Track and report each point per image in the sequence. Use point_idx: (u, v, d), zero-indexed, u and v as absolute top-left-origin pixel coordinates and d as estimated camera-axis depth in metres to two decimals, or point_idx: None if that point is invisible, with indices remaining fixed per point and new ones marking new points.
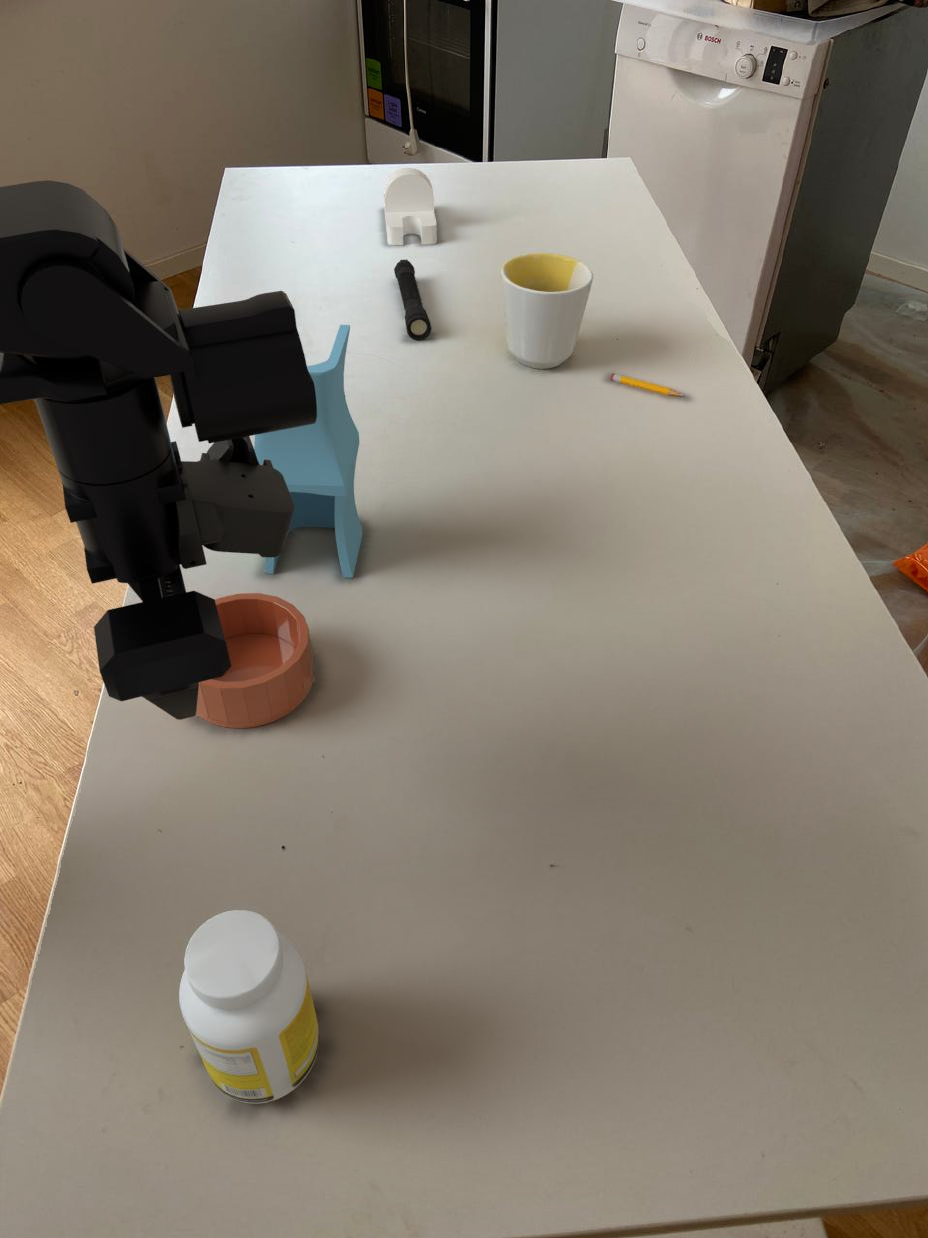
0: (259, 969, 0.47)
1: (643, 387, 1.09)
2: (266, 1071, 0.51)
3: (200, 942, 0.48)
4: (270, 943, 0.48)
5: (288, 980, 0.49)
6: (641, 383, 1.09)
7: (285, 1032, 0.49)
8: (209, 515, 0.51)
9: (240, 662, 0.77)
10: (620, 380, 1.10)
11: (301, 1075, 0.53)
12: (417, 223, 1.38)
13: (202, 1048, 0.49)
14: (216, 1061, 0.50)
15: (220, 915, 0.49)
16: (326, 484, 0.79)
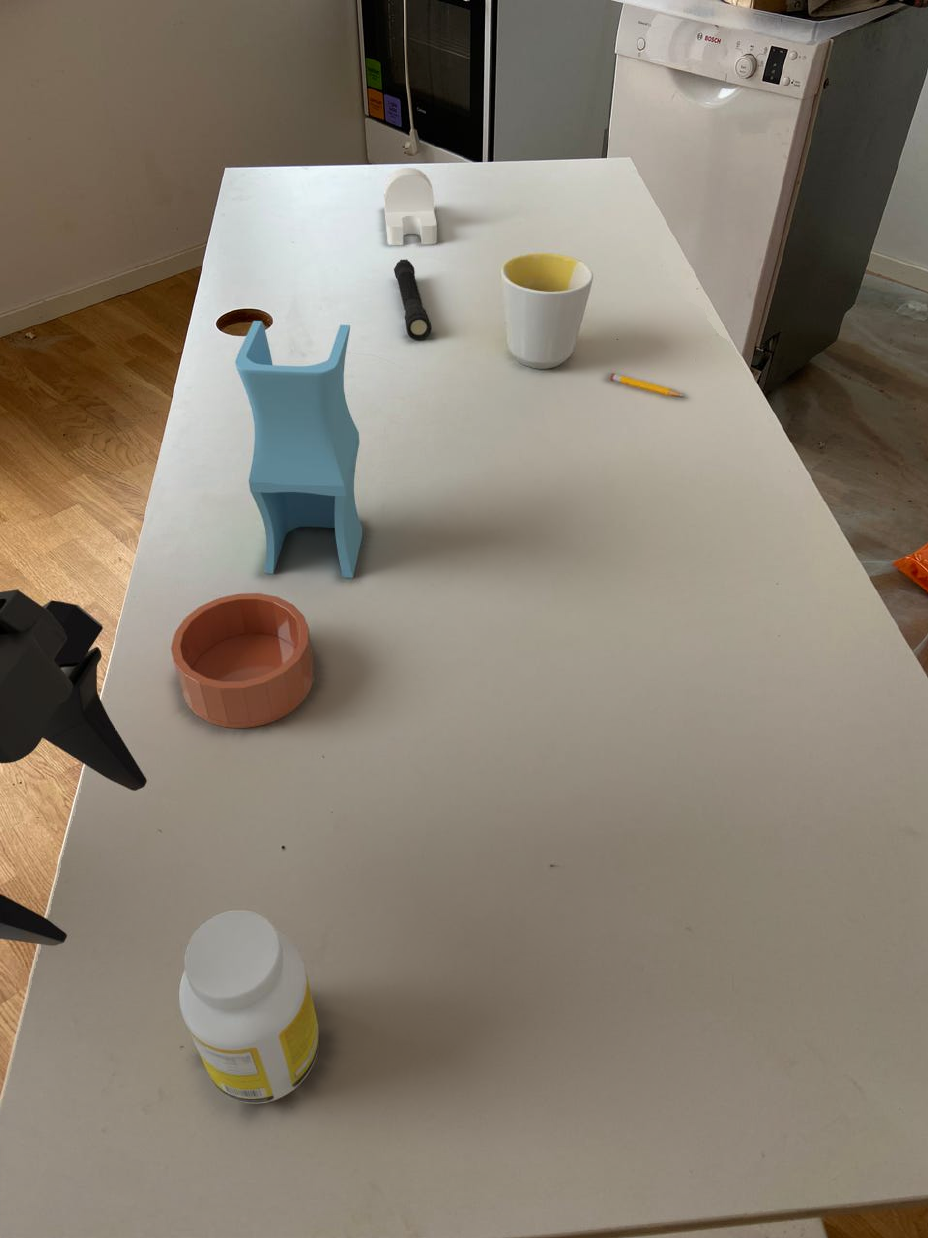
0: (259, 969, 0.47)
1: (643, 387, 1.09)
2: (266, 1071, 0.51)
3: (200, 942, 0.48)
4: (270, 943, 0.48)
5: (288, 980, 0.49)
6: (641, 383, 1.09)
7: (285, 1032, 0.49)
8: None
9: (240, 662, 0.77)
10: (620, 380, 1.10)
11: (301, 1075, 0.53)
12: (417, 223, 1.38)
13: (202, 1048, 0.49)
14: (216, 1061, 0.50)
15: (220, 915, 0.49)
16: (326, 484, 0.79)
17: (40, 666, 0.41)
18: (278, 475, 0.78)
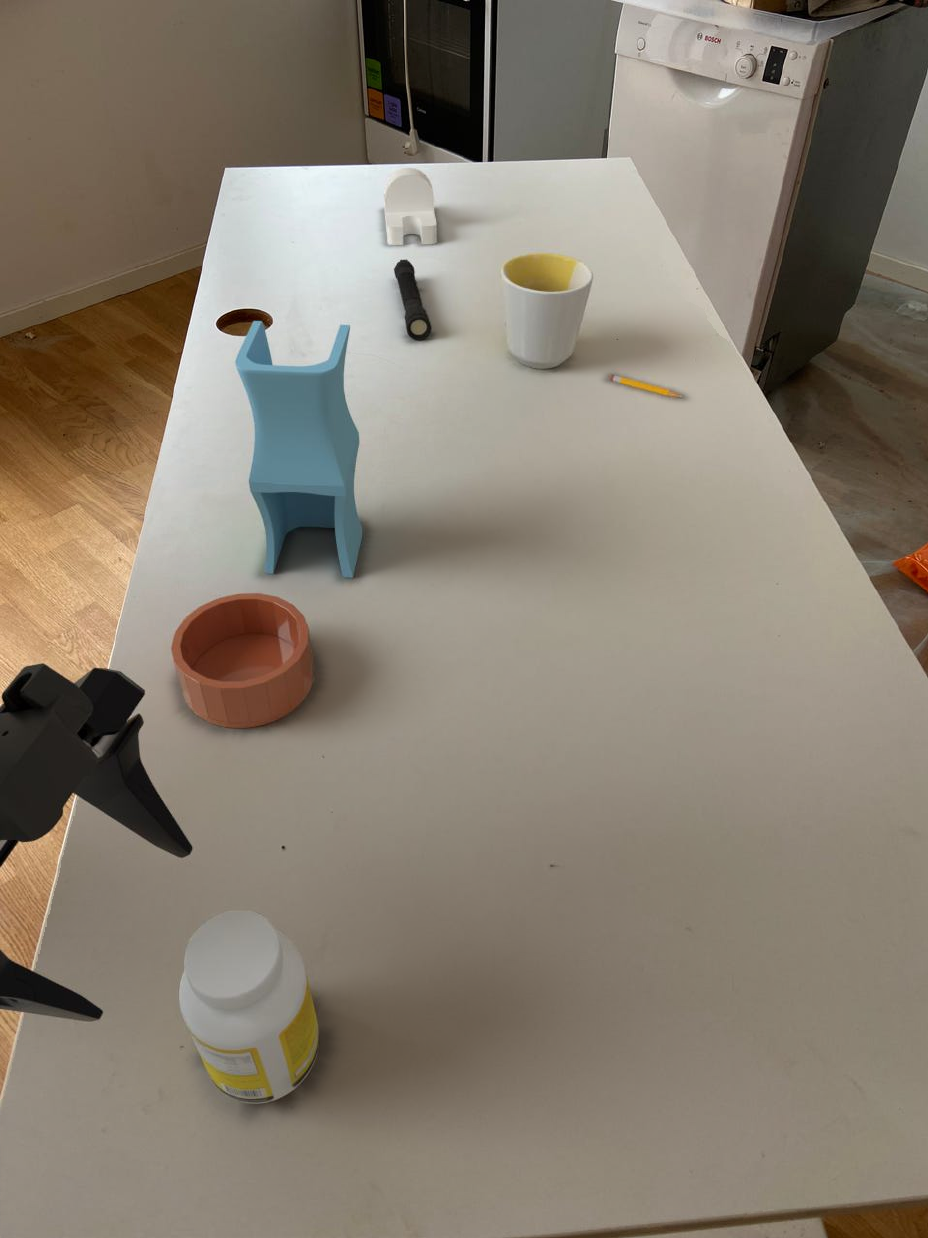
0: (259, 969, 0.47)
1: (644, 389, 1.09)
2: (266, 1071, 0.51)
3: (200, 942, 0.48)
4: (270, 944, 0.48)
5: (288, 980, 0.49)
6: (641, 385, 1.09)
7: (285, 1032, 0.49)
8: None
9: (240, 662, 0.77)
10: (620, 381, 1.10)
11: (301, 1075, 0.53)
12: (417, 223, 1.38)
13: (202, 1048, 0.49)
14: (216, 1061, 0.50)
15: (220, 915, 0.49)
16: (326, 484, 0.79)
17: (60, 742, 0.41)
18: (278, 475, 0.78)
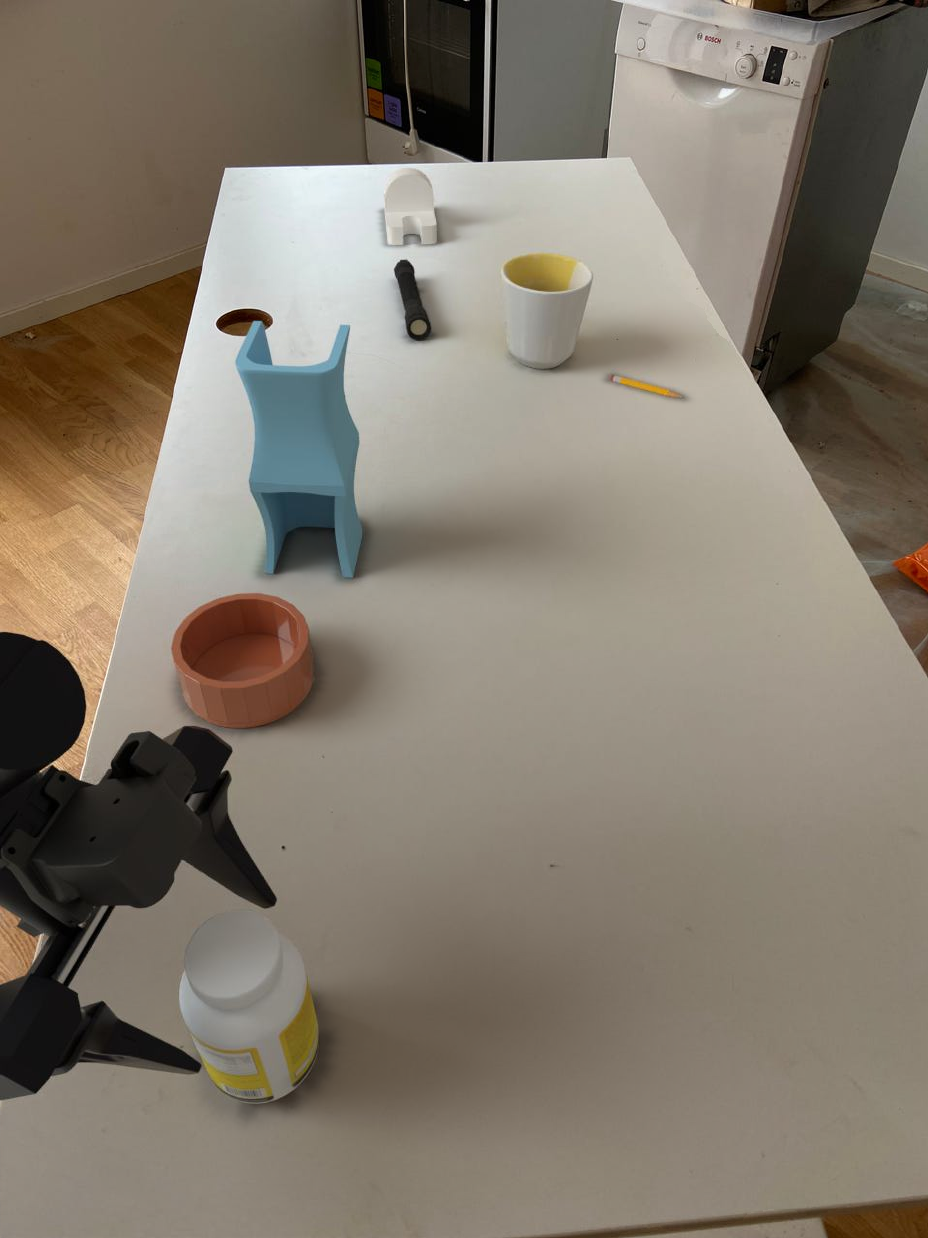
0: (259, 969, 0.47)
1: (643, 389, 1.09)
2: (266, 1071, 0.51)
3: (200, 942, 0.48)
4: (270, 944, 0.48)
5: (288, 980, 0.49)
6: (641, 385, 1.09)
7: (285, 1032, 0.49)
8: (46, 874, 0.42)
9: (240, 662, 0.77)
10: (620, 382, 1.10)
11: (301, 1075, 0.53)
12: (417, 223, 1.38)
13: (202, 1048, 0.49)
14: (216, 1061, 0.50)
15: (220, 915, 0.49)
16: (326, 484, 0.79)
17: (171, 810, 0.42)
18: (278, 475, 0.78)
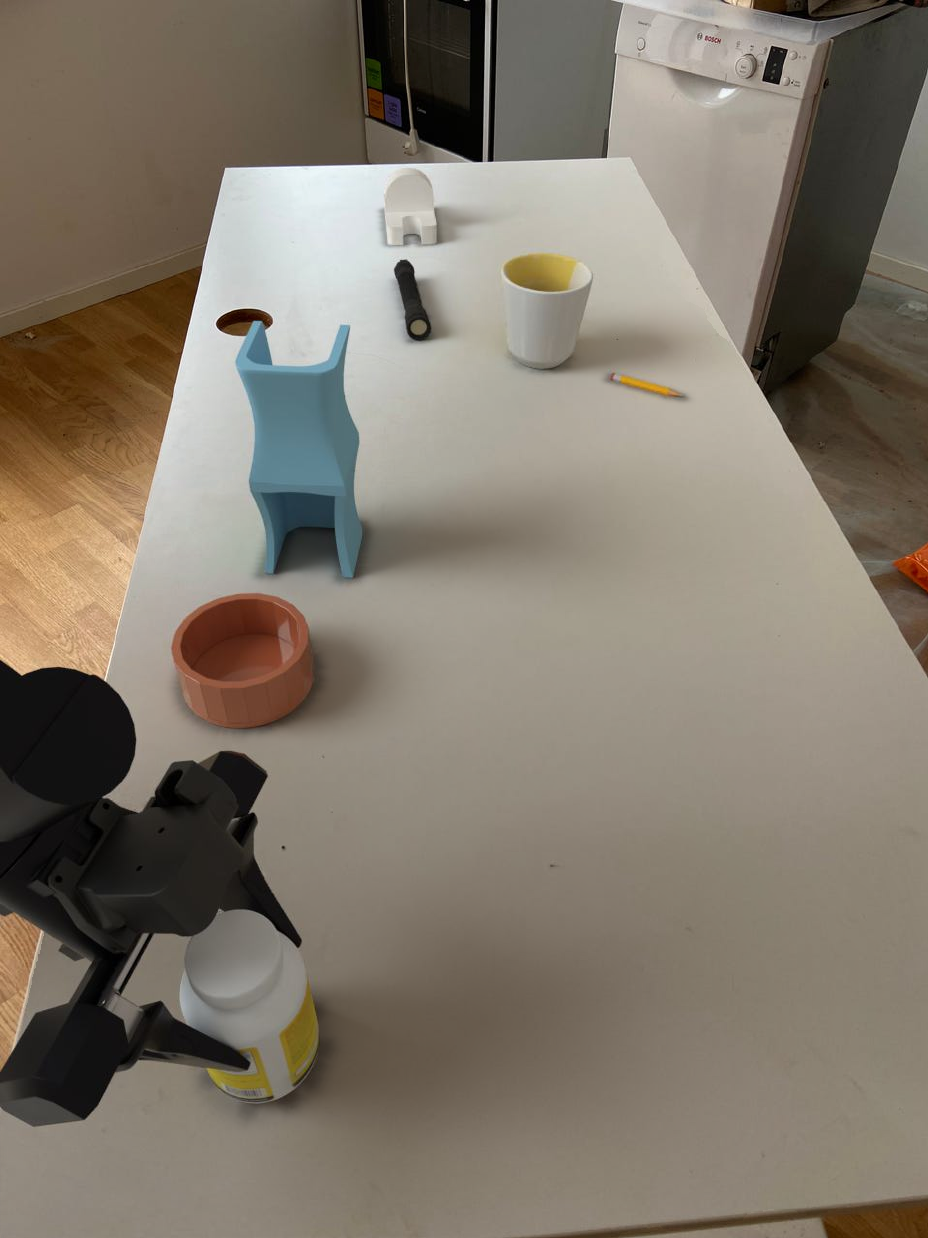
0: (259, 969, 0.47)
1: (643, 387, 1.09)
2: (267, 1071, 0.51)
3: (200, 942, 0.48)
4: (270, 943, 0.48)
5: (288, 980, 0.49)
6: (641, 383, 1.09)
7: (285, 1031, 0.49)
8: (93, 902, 0.42)
9: (240, 662, 0.77)
10: (620, 380, 1.10)
11: (301, 1075, 0.53)
12: (417, 223, 1.38)
13: None
14: None
15: (220, 915, 0.49)
16: (326, 484, 0.79)
17: (215, 840, 0.43)
18: (278, 475, 0.78)
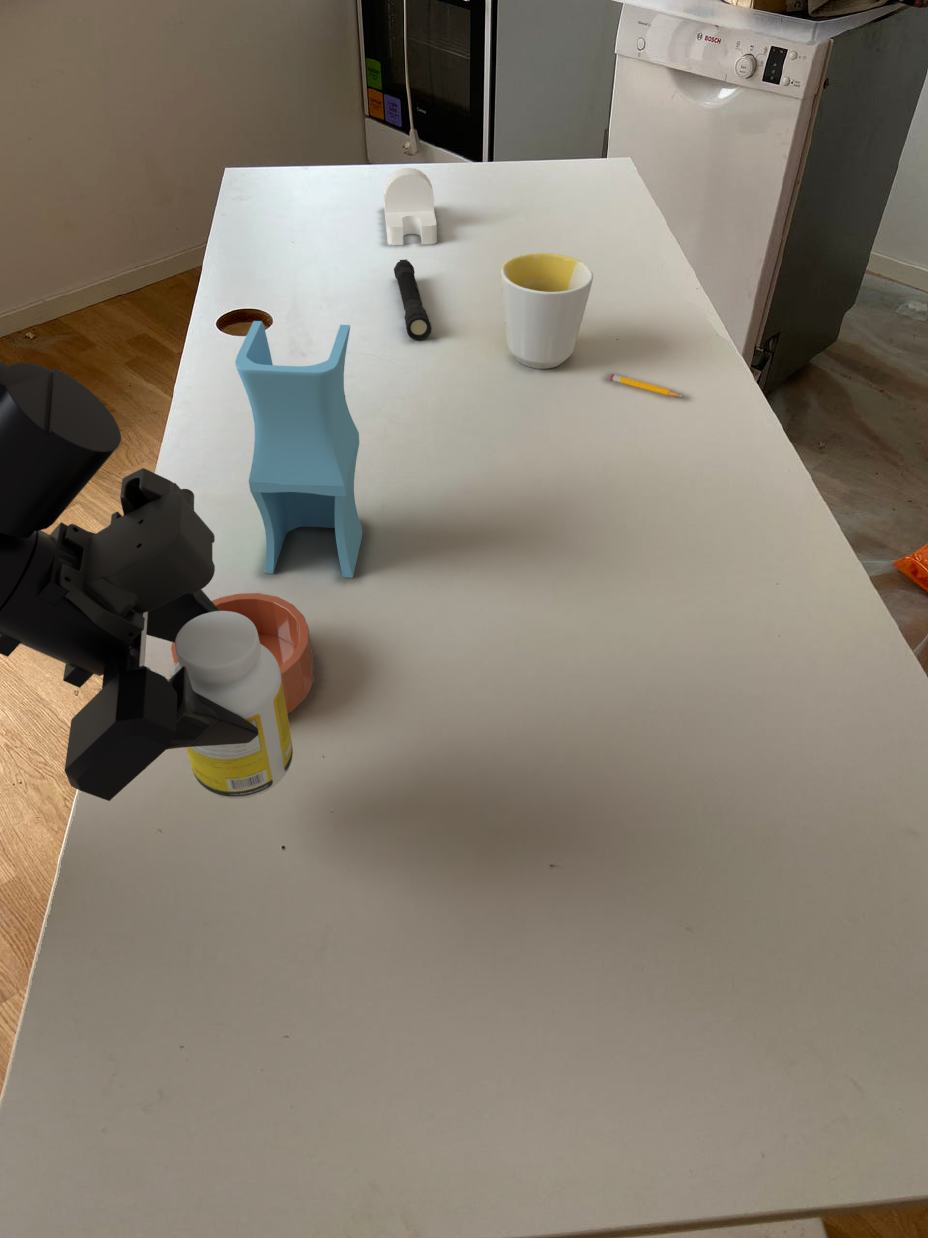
0: (246, 640, 0.55)
1: (643, 388, 1.09)
2: (267, 747, 0.59)
3: (185, 641, 0.55)
4: (244, 624, 0.56)
5: (265, 657, 0.58)
6: (641, 384, 1.09)
7: (276, 699, 0.58)
8: (105, 589, 0.49)
9: None
10: (620, 381, 1.10)
11: (288, 759, 0.62)
12: (417, 223, 1.38)
13: None
14: (225, 746, 0.57)
15: (191, 621, 0.56)
16: (326, 484, 0.79)
17: (192, 513, 0.51)
18: (278, 475, 0.78)
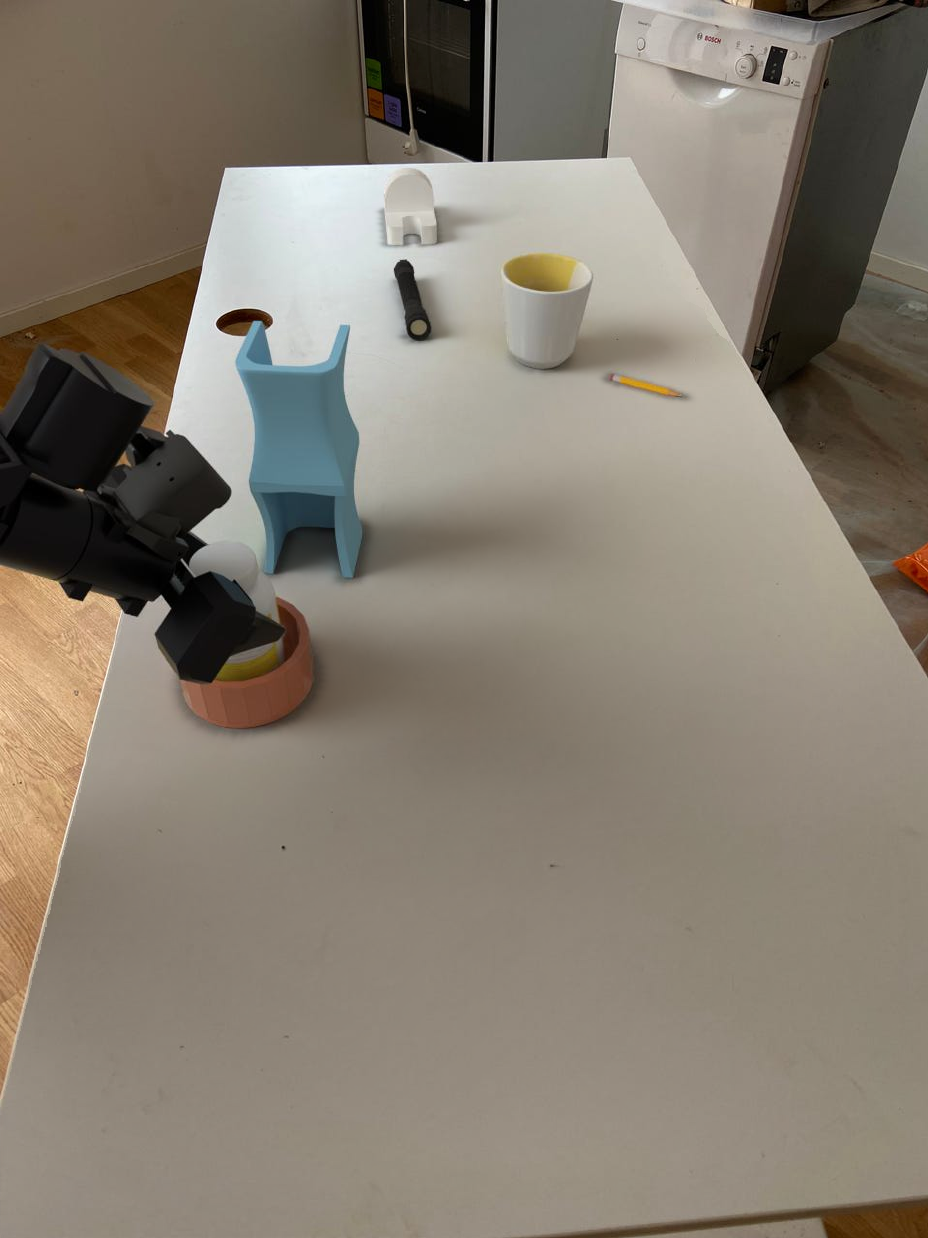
0: (247, 556, 0.68)
1: (643, 388, 1.09)
2: (276, 643, 0.72)
3: (199, 570, 0.67)
4: (237, 546, 0.69)
5: None
6: (640, 384, 1.09)
7: (276, 600, 0.71)
8: (156, 519, 0.60)
9: None
10: (619, 381, 1.10)
11: (285, 655, 0.76)
12: (417, 223, 1.38)
13: None
14: None
15: (193, 556, 0.68)
16: (326, 484, 0.79)
17: None
18: (278, 475, 0.78)
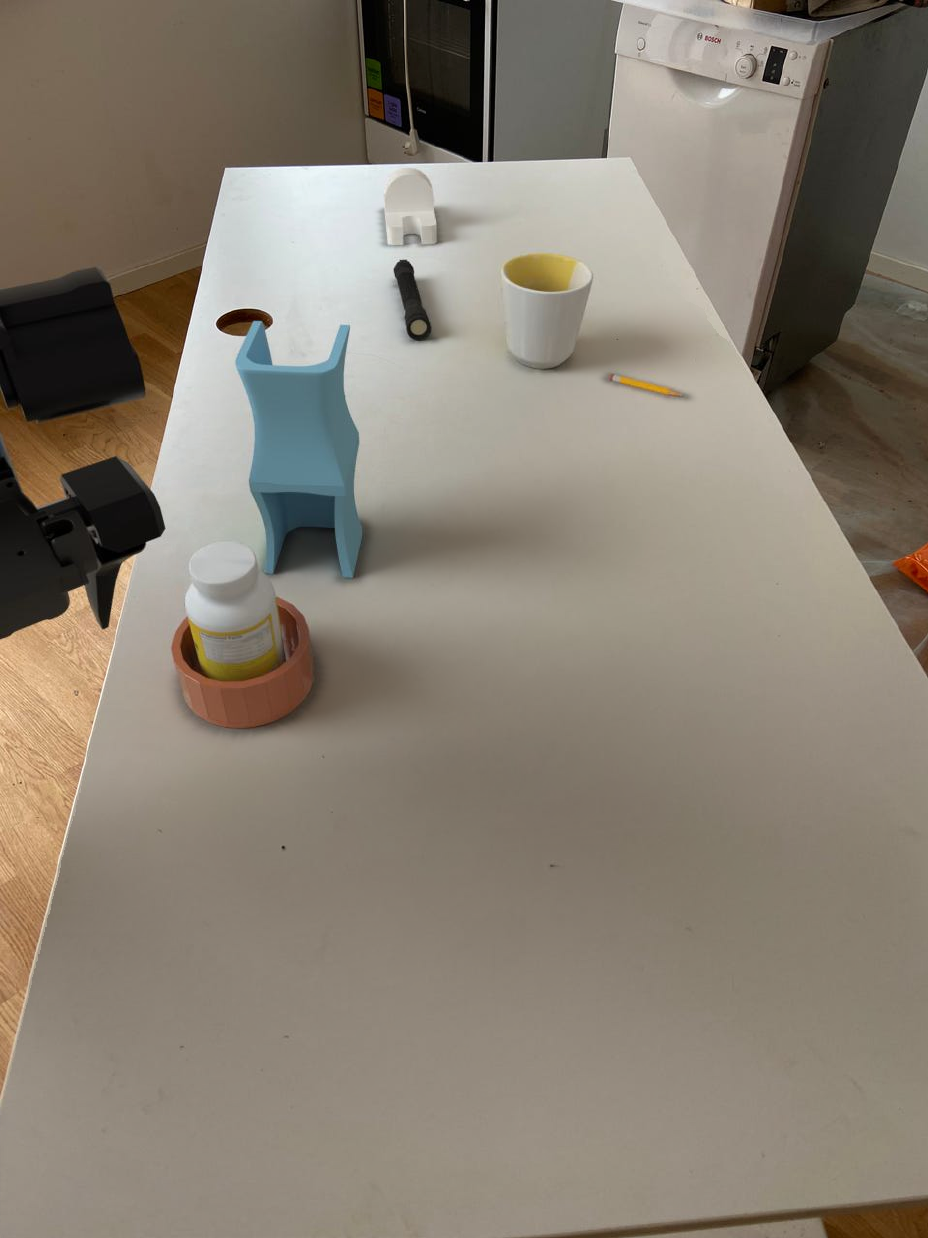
0: (247, 556, 0.68)
1: (643, 388, 1.09)
2: (276, 643, 0.72)
3: (199, 570, 0.67)
4: (237, 546, 0.69)
5: None
6: (640, 384, 1.09)
7: (276, 600, 0.71)
8: None
9: None
10: (619, 381, 1.10)
11: (285, 655, 0.76)
12: (417, 223, 1.38)
13: (238, 643, 0.69)
14: (249, 648, 0.70)
15: (193, 556, 0.68)
16: (326, 484, 0.79)
17: (46, 599, 0.49)
18: (278, 475, 0.78)
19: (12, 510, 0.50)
